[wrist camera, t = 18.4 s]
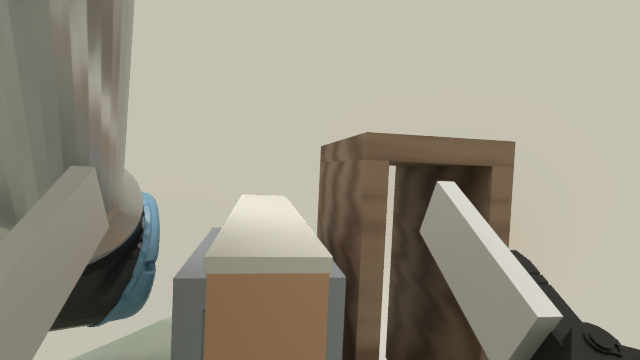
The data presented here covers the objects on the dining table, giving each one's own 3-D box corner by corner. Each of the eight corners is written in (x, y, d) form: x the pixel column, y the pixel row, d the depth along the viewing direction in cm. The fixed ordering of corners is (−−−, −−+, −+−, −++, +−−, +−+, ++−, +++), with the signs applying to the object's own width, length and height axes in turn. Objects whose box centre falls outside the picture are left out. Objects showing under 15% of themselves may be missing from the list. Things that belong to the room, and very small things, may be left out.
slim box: (327, 362, 13) (332, 257, 13) (200, 368, 13) (204, 256, 12) (283, 232, 39) (285, 195, 39) (240, 231, 38) (242, 194, 38)
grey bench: (333, 535, 24) (346, 277, 24) (164, 557, 23) (173, 278, 22) (303, 379, 42) (309, 229, 42) (207, 384, 40) (212, 227, 40)
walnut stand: (492, 489, 29) (515, 141, 28) (348, 505, 27) (366, 132, 26) (398, 356, 48) (409, 151, 47) (311, 360, 46) (321, 146, 45)
